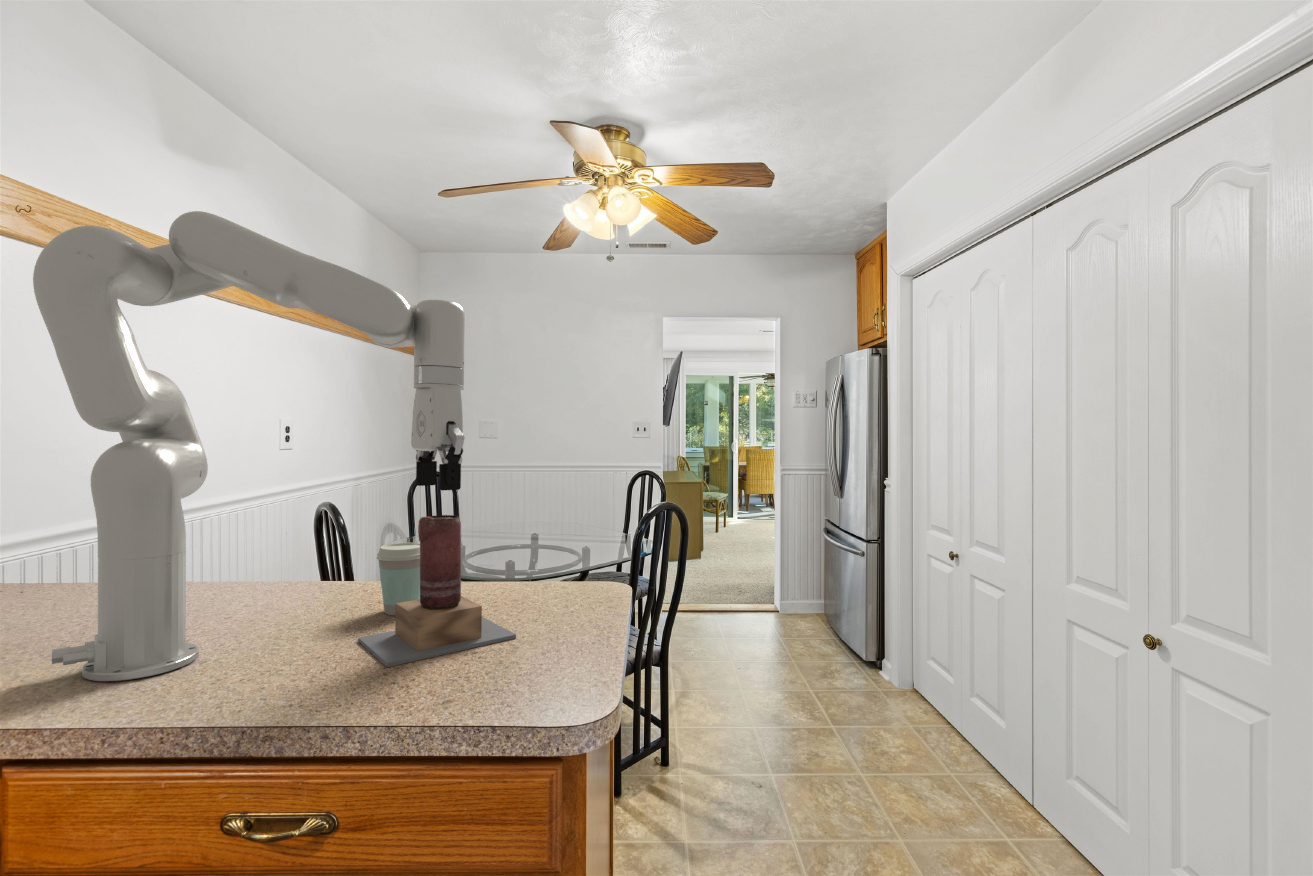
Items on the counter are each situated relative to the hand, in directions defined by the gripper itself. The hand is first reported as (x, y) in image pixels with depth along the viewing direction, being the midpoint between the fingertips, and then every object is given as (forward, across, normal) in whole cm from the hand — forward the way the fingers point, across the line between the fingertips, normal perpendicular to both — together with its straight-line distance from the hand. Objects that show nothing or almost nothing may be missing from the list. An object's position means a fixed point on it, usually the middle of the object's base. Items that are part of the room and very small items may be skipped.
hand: (437, 487), depth 100 cm
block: (+24, 0, 0) cm, 24 cm away
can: (+19, +1, 0) cm, 19 cm away
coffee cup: (+24, -20, +1) cm, 31 cm away
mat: (+24, 0, 0) cm, 24 cm away
